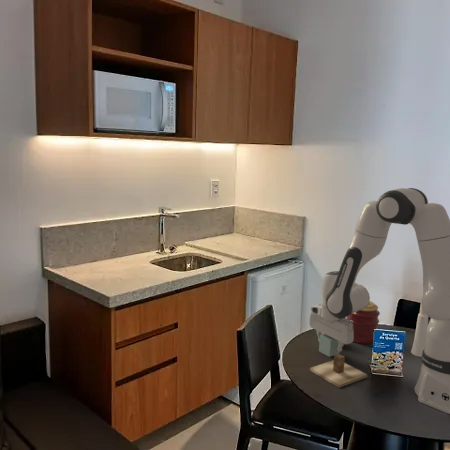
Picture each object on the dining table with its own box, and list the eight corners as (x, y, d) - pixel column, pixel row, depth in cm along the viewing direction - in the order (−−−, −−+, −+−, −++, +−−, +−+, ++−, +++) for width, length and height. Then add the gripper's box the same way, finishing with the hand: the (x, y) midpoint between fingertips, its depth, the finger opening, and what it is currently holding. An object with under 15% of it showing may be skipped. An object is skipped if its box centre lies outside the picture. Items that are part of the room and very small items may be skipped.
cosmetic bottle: (430, 354, 190) (436, 300, 186) (422, 358, 186) (428, 304, 182) (415, 349, 194) (421, 296, 190) (407, 353, 190) (413, 299, 186)
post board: (366, 377, 170) (368, 359, 169) (339, 387, 162) (340, 368, 161) (337, 361, 181) (338, 344, 180) (309, 370, 174) (310, 352, 172)
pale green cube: (339, 353, 188) (340, 337, 187) (329, 356, 185) (330, 340, 184) (329, 348, 192) (330, 332, 191) (318, 351, 189) (319, 335, 188)
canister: (353, 345, 196) (357, 303, 192) (340, 332, 208) (343, 293, 205) (383, 343, 198) (387, 302, 195) (367, 330, 211) (371, 292, 208)
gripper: (358, 319, 179) (356, 354, 181) (319, 303, 196) (317, 335, 198) (347, 322, 175) (344, 358, 178) (307, 305, 192) (305, 338, 195)
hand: (329, 346), depth 188 cm, fingers open, 8 cm apart
